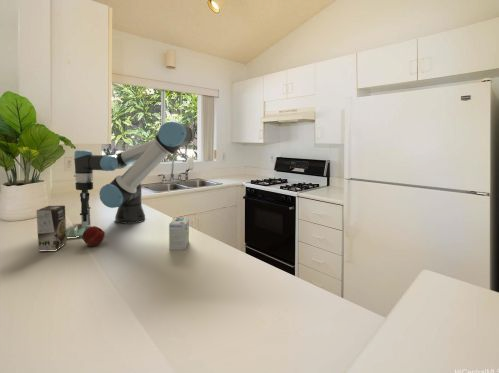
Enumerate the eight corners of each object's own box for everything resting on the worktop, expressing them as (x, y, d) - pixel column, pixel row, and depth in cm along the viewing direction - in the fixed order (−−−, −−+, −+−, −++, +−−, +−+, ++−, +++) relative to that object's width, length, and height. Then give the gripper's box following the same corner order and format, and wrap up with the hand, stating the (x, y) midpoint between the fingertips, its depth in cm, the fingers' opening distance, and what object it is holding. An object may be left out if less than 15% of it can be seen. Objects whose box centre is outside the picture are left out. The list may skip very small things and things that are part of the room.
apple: (99, 248, 110) (98, 229, 108) (78, 248, 109) (77, 228, 108) (107, 242, 117) (106, 224, 116) (88, 242, 116) (87, 223, 115)
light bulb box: (173, 241, 122) (173, 217, 120) (189, 241, 122) (189, 217, 121) (168, 249, 111) (168, 223, 110) (185, 250, 112) (185, 223, 110)
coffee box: (57, 251, 105) (55, 210, 103) (38, 252, 104) (35, 210, 102) (67, 243, 114) (65, 205, 112) (50, 244, 113) (47, 205, 110)
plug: (90, 223, 144) (89, 207, 142) (90, 225, 140) (89, 208, 139) (82, 224, 142) (81, 207, 141) (81, 226, 139) (81, 208, 138)
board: (97, 229, 135) (96, 222, 134) (96, 236, 124) (96, 229, 124) (57, 232, 127) (56, 226, 127) (53, 240, 117) (52, 233, 116)
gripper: (77, 179, 147) (79, 219, 150) (73, 184, 126) (75, 231, 129) (93, 178, 150) (95, 218, 153) (92, 184, 130) (93, 230, 133)
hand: (85, 224), depth 141 cm, fingers open, 11 cm apart
